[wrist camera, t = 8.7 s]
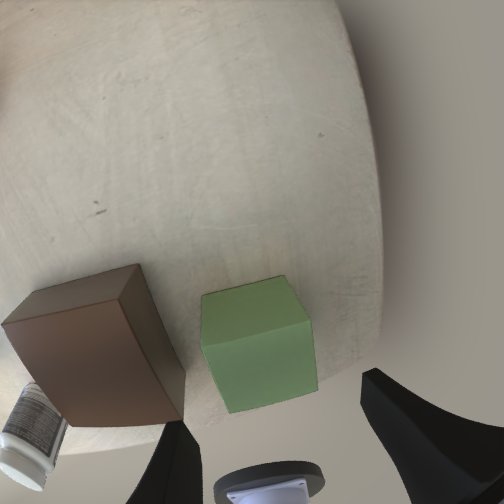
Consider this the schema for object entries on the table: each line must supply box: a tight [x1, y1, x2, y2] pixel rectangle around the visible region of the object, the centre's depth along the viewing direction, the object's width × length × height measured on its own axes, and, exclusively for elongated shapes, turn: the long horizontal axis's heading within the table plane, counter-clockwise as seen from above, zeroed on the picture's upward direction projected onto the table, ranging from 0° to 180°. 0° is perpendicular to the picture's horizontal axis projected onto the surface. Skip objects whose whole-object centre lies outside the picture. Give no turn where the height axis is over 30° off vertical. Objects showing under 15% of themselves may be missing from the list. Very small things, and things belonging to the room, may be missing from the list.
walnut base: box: [1, 264, 185, 427], centre depth 13 cm, size 8×8×4 cm
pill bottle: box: [0, 384, 68, 491], centre depth 13 cm, size 5×5×8 cm
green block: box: [201, 275, 318, 414], centre depth 14 cm, size 5×5×5 cm
